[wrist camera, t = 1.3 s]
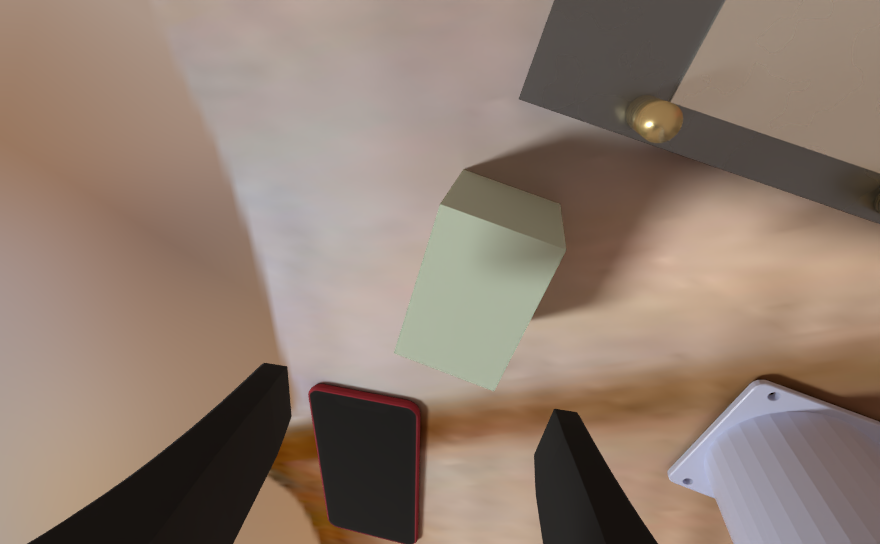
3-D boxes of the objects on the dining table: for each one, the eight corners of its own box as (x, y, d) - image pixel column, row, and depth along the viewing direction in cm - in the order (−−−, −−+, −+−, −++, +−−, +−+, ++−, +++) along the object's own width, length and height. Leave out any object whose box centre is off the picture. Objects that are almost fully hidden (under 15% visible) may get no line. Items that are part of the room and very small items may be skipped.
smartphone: (327, 525, 33) (305, 386, 26) (332, 514, 34) (312, 376, 27) (416, 547, 32) (419, 408, 25) (419, 536, 33) (422, 397, 26)
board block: (560, 203, 18) (566, 249, 14) (503, 324, 22) (494, 391, 17) (463, 168, 18) (440, 204, 14) (422, 293, 22) (393, 353, 17)
